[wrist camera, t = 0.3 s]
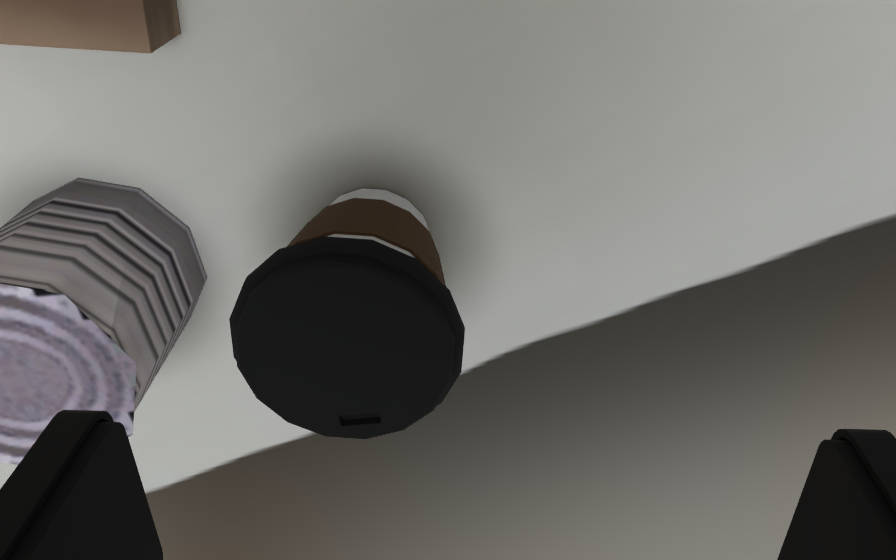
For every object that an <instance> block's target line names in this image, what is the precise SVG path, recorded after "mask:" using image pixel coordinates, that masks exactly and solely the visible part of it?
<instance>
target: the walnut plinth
mask: <svg viewBox="0 0 896 560" xmlns="http://www.w3.org/2000/svg"><path fill="white" fill-rule="evenodd" d="M179 34H181V32H180V25H179V18H178V10H177V3H176V0H0V44H8V45H25V46H41V47H57V48H74V49H90V50H106V51H122V52H139V53H152V52H153V51H155V50H156V49H158V48H159V47H161V46H163V45H164V44H166V43H167V42H169V41H170V40H172V39H173V38H175V37H176V36H178V35H179Z"/></svg>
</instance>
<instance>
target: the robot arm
mask: <svg viewBox="0 0 896 560" xmlns="http://www.w3.org/2000/svg"><path fill="white" fill-rule="evenodd" d="M0 560H163V552H162V547H161V544H160V541H159V538H158V534H157V531H156V528H155V525H154V521H153V518H152V515H151V512H150V508H149V505H148V502H147V499H146V495H145V492H144V489H143V485H142V482H141V479H140V476H139V472H138V469H137V466H136V462H135V459H134V456H133V453H132V449H131V446H130V443H129V440H128V436H127V433H126V430H125V427H124V425H123V424H122V423H121V422H114V420H113V418H112V416H111V414H109V413H108V412H107V411H94V410H62V411H60V412H58V413H57V414H56V415H55V416H54V417H53V418H52V419H51V421H50V422H49V424H48V425H47V426H46V428H45V429H44V430H43V432H42V433H41V434H40V436H39V437H38V439H37V440H36V441H35V443H34V444H33V445H32V447H31V448H30V450H29V451H28V452H27V454H26V455H25V456H24V458H23V459H22V461H21V462H20V463H19V465H18V466H17V467H16V469H15V470H14V472H13V473H12V474H11V476H10V477H9V478H8V480H7V481H6V482H5V484H4V485H3V487H2V488H1V489H0ZM778 560H896V438H895V437H894V436H893V435H892V434H891V433H890V432H888V431H886V430H863V429H861V430H860V429H839V430H837V431H836V432H835V433H834V434H833V437H832V438H831V440H823V441H822V442H821V444H820V445H819V447H818V450H817V453H816V455H815V458H814V461H813V464H812V467H811V469H810V472H809V475H808V478H807V480H806V483H805V486H804V488H803V491H802V494H801V497H800V499H799V502H798V505H797V507H796V510H795V513H794V516H793V518H792V521H791V524H790V527H789V529H788V532H787V535H786V537H785V540H784V543H783V546H782V548H781V551H780V554H779V557H778Z"/></svg>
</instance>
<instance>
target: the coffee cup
mask: <svg viewBox="0 0 896 560" xmlns="http://www.w3.org/2000/svg"><path fill="white" fill-rule="evenodd" d="M229 320H230V328H231V337H232V345H233V353H234V358H235V359H236V361H237V367H238V368H239V370H240V372H241V373H242V375H243V377H244V378H245V380H246V381H247V383H248V385H249V386H250V388H251V389H252V391H253V393H254V394H255V396H256V398H257V399H259V400H260V401H261V402H262V403H264V404H265V405H266V406H268V407H269V408H270V409H271V410H273V411H274V412H275V413H277V414H278V415H279V416H280V417H282V418H283V419H284V420H286V421H287V422H289V423H291V424H294V425H297V426H299V427H302V428H305V429H308V430H310V431H313V432H316V433H318V434H321V435H324V436H329V437H344V438H359V439H360V438H361V439H368V438H372V437H377V436H381V435H385V434H389V433H393V432H397V431H401V430H404V429H406V428H407V427H409V426H410V425H412V424H413V423H415V422H416V421H418V420H419V419H421V418H422V417H424V416H425V415H427V414H429V413H430V412H432V411H433V410H434V409H435V407H436V406H437V405H439V404H440V403H441V402H442V401H443V400H444V398H445V396H446V395H447V393H448V392H449V390H450V389H451V387H452V385H453V384H454V382H455V381H456V379H457V378H458V376H459V374H460V373H461V368H462V356H463V344H464V331H465V327H464V325H463V322H462V320H461V317H460V315H459V312H458V310H457V307H456V305H455V303H454V300H453V298H452V295H451V293H450V290H449V289H448V288H447V287H446V285H445V281H444V276H443V272H442V267H441V263H440V258H439V254H438V252H437V249H436V247H435V244H434V242H433V239H432V237H431V234H430V231H429V229H428V226H427V224H426V221H425V219H424V216H423V215H422V214H421V213H420V212H419V211H418V210H417V209H416V208H415V207H414V206H413V205H412V204H411V203H410V202H409V201H408V200H407V199H405V198H403V197H400V196H398V195H396V194H394V193H391V192H389V191H387V190H379V189H364V188H362V189H359V190H356V191H352V192H349V193H346V194H343V195H340V196H339V197H338V198H337V199H336V200H334V201H333V202H332V203H331V204H330V205H329V206H327V207H326V208H325V209H323V210H322V211H321V212H320V213H319V214H318V215H317V216H315V217H314V218H313V219H312V220H311V221H310V222H308V223H307V225H306V226H305V227H304V228H303V229H302V230H301V231H300V232H299V234H298V235H297V236H296V237H295V238H294V239H293V240H292V241H291V243H290V244H289V245H288V246H287V247H285V248H282V249H279V250H277V251H276V252H275V253H274V254H273V255H272V256H270V257H269V258H268V259H267V260H266V261H265V262H264V263H262V264H261V265H260V266H259V267H258V268H257V269H255V270H254V271H253V272H252V273H251V274H250V275H248V276H247V278H246V280H245V282H244V284H243V286H242V289H241V291H240V294H239V296H238V299H237V301H236V304H235V307H234V309H233V312H232V314H231V317H230V319H229Z"/></svg>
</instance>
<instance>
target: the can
mask: <svg viewBox="0 0 896 560" xmlns="http://www.w3.org/2000/svg"><path fill="white" fill-rule="evenodd" d="M206 279H207V275H206V273H205V270H204V267H203V264H202V261H201V259H200V256H199V253H198V250H197V248H196V245H195V242H194V239H193V236H192V234H191V231H190V228H189V227H188V226H187V225H185V224H184V223H183V222H182V221H180V220H179V219H178V218H177V217H175V216H174V215H173V214H172V213H170V212H169V211H168V210H167V209H165V208H164V207H163V206H161V205H160V204H159V203H158V202H156V201H155V200H154V199H153V198H151V197H150V196H149V195H148V194H146V193H145V192H144V191H143V190H141V189H140V188H135V187H129V186H123V185H118V184H112V183H106V182H100V181H94V180H89V179H83V178H77V179H76V180H74V181H72V182H70V183H68V184H66V185H64V186H62V187H60V188H58V189H56V190H54V191H52V192H50V193H48V194H46V195H44V196H42V197H40V198H38V199H36V200H34V201H33V202H31V203H30V204H29V205H28V206H27V207H25V208H24V209H23V210H22V211H21V212H19V213H18V214H17V215H16V216H15V217H13V218H12V219H11V220H10V221H8V222H7V223H6V224H5V225H4V226H2V227H1V228H0V462H3V463H10V464H18V465H19V463H20V462H21V461H22V459H23V458H24V456H25V455H26V454H27V452H28V451H29V450H30V448H31V447H32V445H33V444H34V443H35V441H36V440H37V439H38V437H39V436H40V434H41V433H42V432H43V430H44V429H45V428H46V426H47V425H48V424H49V422H50V421H51V419H52V418H53V417H54V416H55V415H56V414H57V413H58V412H60V411H62V410H94V411H107V412H108V413H109V414H111V416H112V418H113V420H114V422H121V423H122V424H123V425H124V427H125V430H126V433H127V436H128V437H129V436H131V435H133V419H134V412H135V410H136V408H137V407H138V405H139V403H140V402H141V400H142V398H143V397H144V395H145V393H146V392H147V390H148V388H149V386H150V385H151V383H152V381H153V380H154V378H155V376H156V375H157V373H158V371H159V370H160V368H161V366H162V365H163V363H164V361H165V359H166V358H167V356H168V354H169V353H170V351H171V349H172V348H173V346H174V344H175V343H176V341H177V339H178V338H179V336H180V334H181V332H182V331H183V329H184V327H185V326H186V324H187V322H188V321H189V319H190V317H191V315H192V312H193V310H194V308H195V305H196V303H197V300H198V298H199V296H200V293H201V291H202V289H203V286H204V284H205V281H206Z"/></svg>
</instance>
